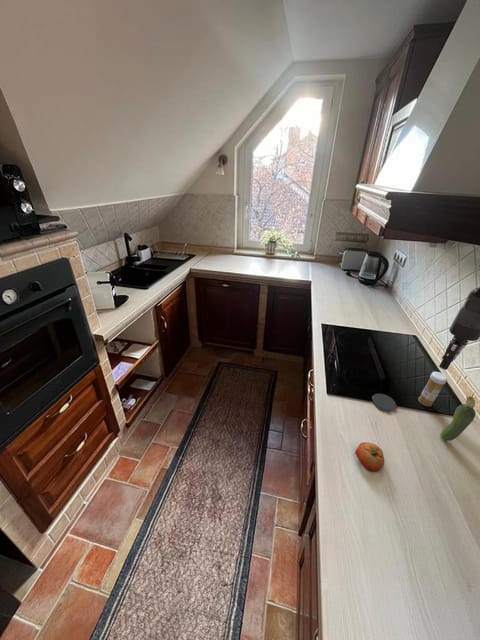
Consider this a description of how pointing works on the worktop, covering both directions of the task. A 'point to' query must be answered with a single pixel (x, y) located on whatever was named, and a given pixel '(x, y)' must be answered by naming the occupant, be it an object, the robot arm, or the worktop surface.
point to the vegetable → (460, 420)
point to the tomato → (370, 456)
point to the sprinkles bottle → (432, 388)
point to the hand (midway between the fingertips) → (447, 363)
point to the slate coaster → (384, 402)
